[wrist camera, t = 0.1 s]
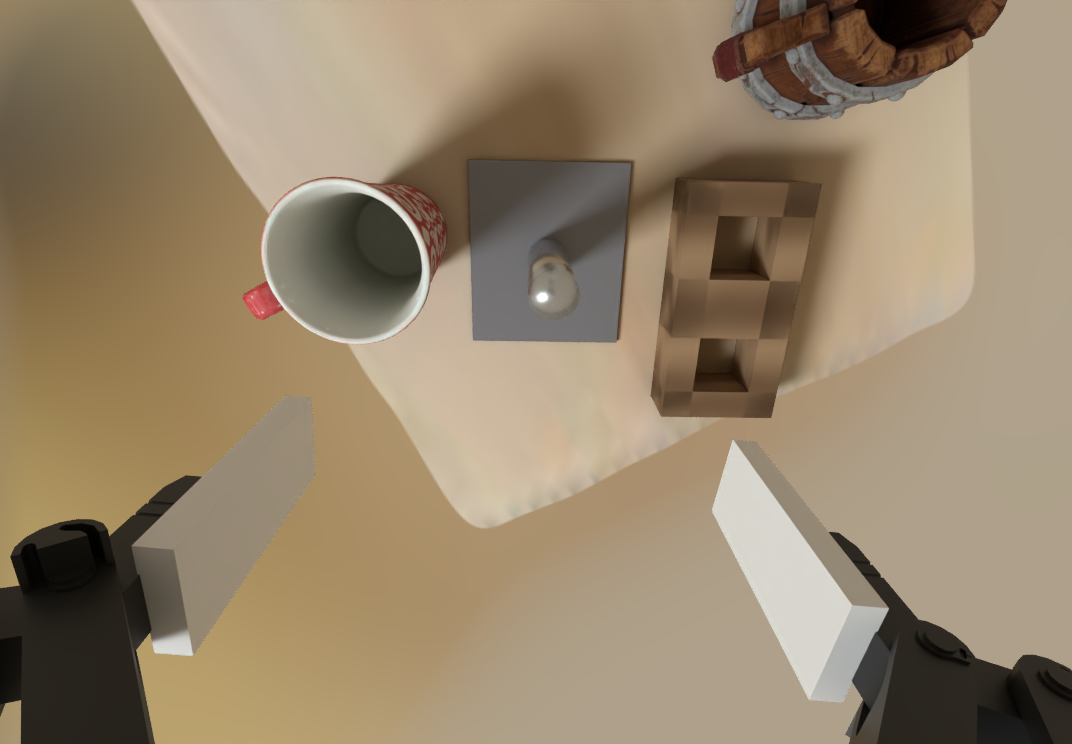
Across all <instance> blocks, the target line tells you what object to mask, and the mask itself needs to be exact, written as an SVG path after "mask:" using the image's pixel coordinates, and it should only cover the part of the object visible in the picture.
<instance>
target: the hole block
mask: <svg viewBox="0 0 1072 744" xmlns="http://www.w3.org/2000/svg"><path fill="white" fill-rule="evenodd" d="M821 185H822V184H820V183H810V182H800V181H775V180H728V179H680V178H676V181H675V190H674V198H673V207H672V216H671V224H670V233H669V242H668V251H667V259H666V268H665V277H664V285H663V294H662V303H661V311H660V320H659V329H658V337H657V346H656V355H655V363H654V372H653V381H652V390H651V397H652V399H653V401H654V403H655V405H656V407H657V409H658V411H659V413H660V415H661V417H742V418H771V416H772V412H773V407H774V403H775V398H776V393H777V389H778V384H779V379H780V375H781V370H782V366H783V361H784V356H785V352H786V347H787V342H788V338H789V333H790V329H791V324H792V319H793V315H794V310H795V305H796V301H797V296H798V292H799V287H800V282H801V278H802V273H803V268H804V264H805V259H806V255H807V250H808V245H809V241H810V236H811V231H812V227H813V222H814V218H815V213H816V208H817V204H818V199H819V195H820V190H821ZM719 216H748V217H758V222H757V228H756V234H755V239H754V245H753V251H752V256H751V262H750V268H749V270H737V269H711V264H712V258H713V251H714V244H715V237H716V231H717V224H718V217H719ZM700 338H722V339H737V341H736V347H735V353H734V358H733V364H732V370H731V373H695V372H696V365H697V359H698V352H699V345H700Z"/></svg>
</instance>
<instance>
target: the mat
mask: <svg viewBox="0 0 1072 744" xmlns="http://www.w3.org/2000/svg"><path fill="white" fill-rule="evenodd" d="M630 172H631V163H604V162H558V161H512V160H468V173H469V209H470V246H471V282H472V319H473V340H483V341H548V342H613V343H616V340H617V328H618V316H619V304H620V292H621V280H622V268H623V256H624V244H625V232H626V220H627V208H628V196H629V184H630ZM542 238H552V239H555V240H557V241H559V242H560V243H561V244H562V245H563V247H564V249H565V251H566V254H567V257H568V259H569V262H570V265H571V268H572V270H573V273H574V276H575V278H576V281H577V284H578V287H579V291H580V298H579V302H578V305H577V307H576V308H575V310H574V311H573V312H572V313H571V314H570V315H569V316H567V317H565V318H563V319H560V320H546V319H543V318H541V317H540V316H538V315H537V314H536V313H535V312H534V311H533V310H532V309H531V307H530V305H529V302H528V254H529V250H530V248H531V246H532V245H533V244H534V243H535V242H536V241H538V240H540V239H542Z"/></svg>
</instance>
